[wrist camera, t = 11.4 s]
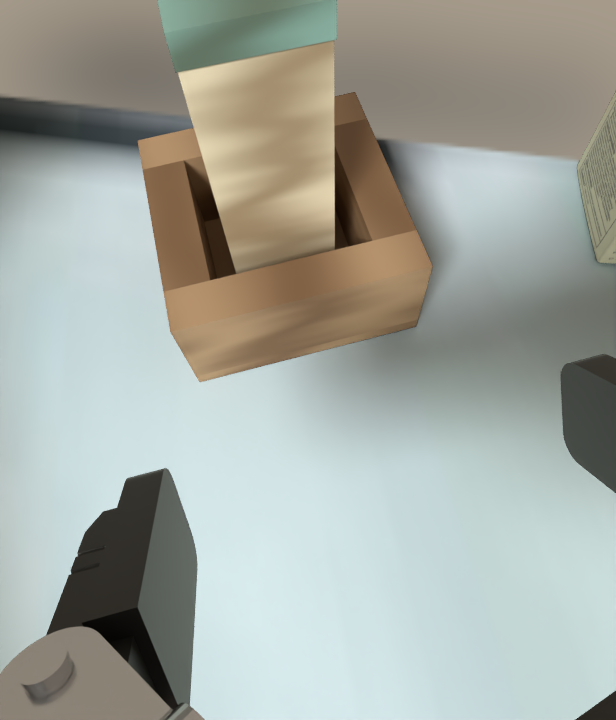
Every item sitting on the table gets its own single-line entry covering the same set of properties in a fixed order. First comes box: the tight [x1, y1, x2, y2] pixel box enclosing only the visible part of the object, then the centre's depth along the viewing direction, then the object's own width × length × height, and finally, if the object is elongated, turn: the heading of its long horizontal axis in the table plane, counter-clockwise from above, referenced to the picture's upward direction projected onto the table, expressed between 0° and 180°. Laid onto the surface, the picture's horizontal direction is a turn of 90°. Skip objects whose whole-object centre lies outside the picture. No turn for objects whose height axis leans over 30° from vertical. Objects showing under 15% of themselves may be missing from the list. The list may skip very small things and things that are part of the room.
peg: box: [157, 0, 337, 274], centre depth 19 cm, size 4×4×12 cm
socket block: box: [138, 92, 433, 382], centre depth 23 cm, size 10×10×4 cm
